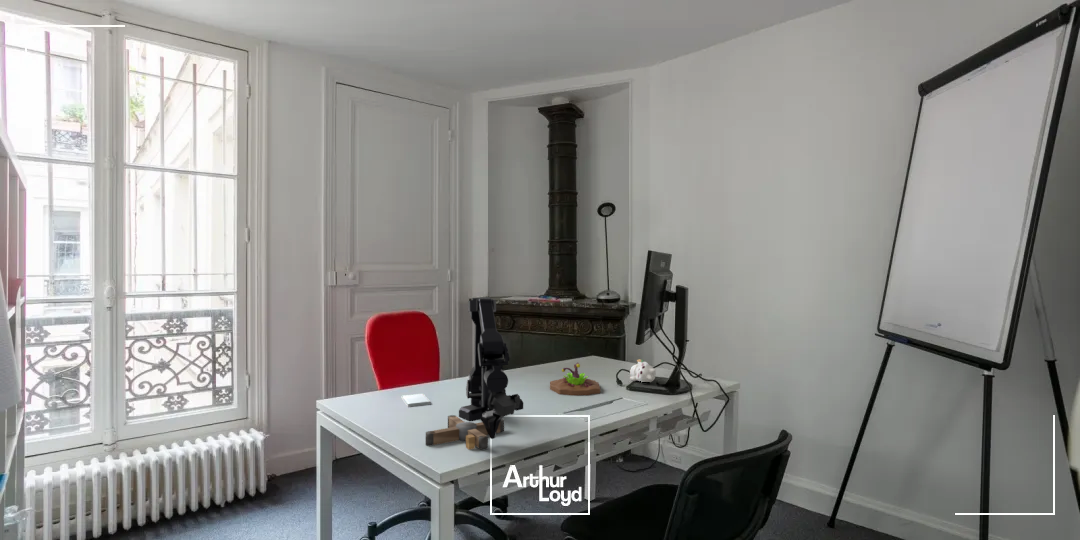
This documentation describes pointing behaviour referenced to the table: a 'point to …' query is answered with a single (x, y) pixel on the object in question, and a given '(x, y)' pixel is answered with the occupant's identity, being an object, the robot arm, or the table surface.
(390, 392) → the table surface
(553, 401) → the table surface
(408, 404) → the hard drive
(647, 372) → the cat figurine
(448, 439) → the stool base
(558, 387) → the plant
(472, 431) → the folding leg
